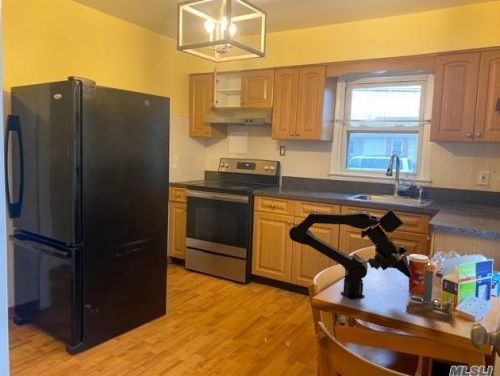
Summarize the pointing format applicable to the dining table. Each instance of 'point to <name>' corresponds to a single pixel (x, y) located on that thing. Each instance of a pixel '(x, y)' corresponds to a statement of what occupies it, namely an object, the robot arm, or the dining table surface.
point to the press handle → (429, 286)
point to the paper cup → (417, 272)
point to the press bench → (429, 308)
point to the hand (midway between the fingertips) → (410, 277)
